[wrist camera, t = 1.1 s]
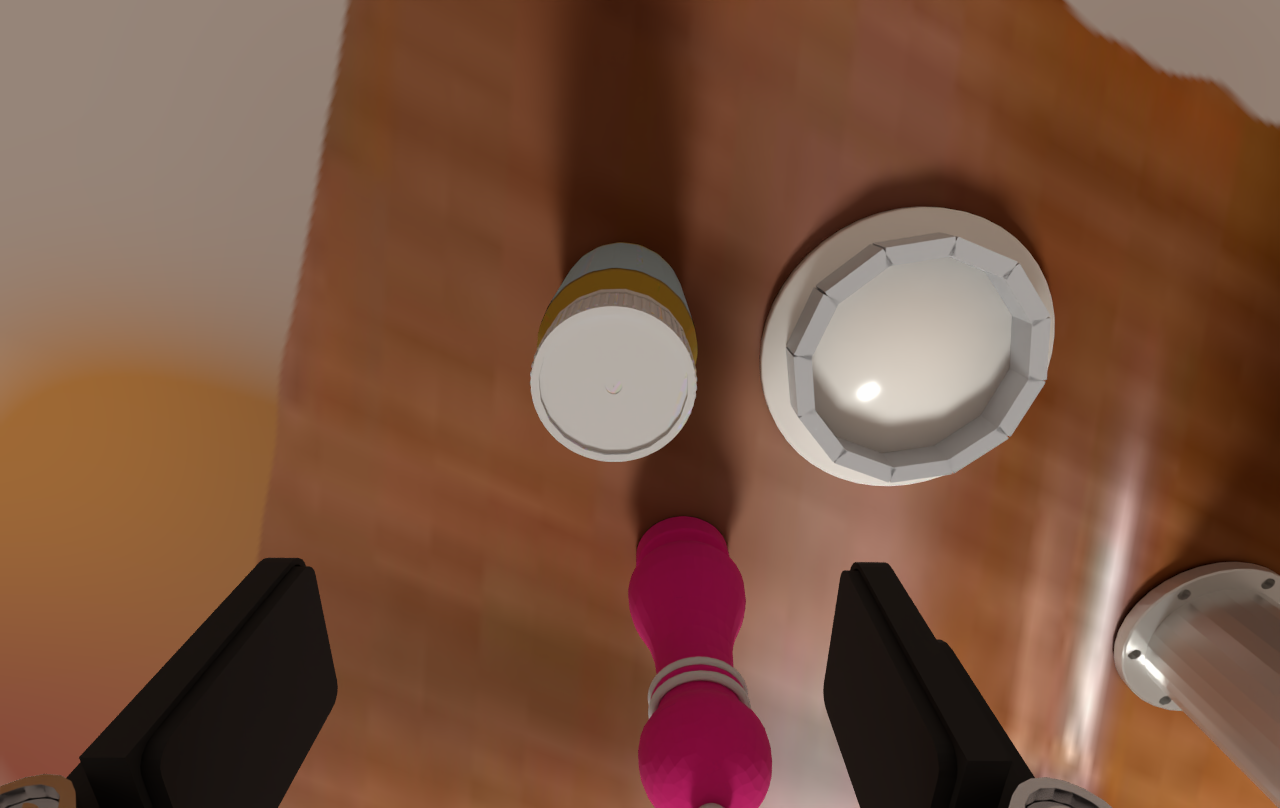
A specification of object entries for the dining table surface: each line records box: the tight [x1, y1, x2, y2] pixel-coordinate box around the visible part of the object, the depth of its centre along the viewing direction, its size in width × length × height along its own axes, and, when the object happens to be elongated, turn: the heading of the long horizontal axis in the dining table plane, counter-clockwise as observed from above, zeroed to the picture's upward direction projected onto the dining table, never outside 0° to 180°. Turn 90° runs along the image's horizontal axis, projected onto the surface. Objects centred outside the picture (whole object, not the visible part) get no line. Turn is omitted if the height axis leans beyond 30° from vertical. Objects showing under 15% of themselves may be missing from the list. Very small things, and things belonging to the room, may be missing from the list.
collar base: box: [759, 206, 1054, 486], centre depth 37 cm, size 17×17×3 cm
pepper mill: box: [628, 516, 772, 808], centre depth 34 cm, size 7×7×20 cm
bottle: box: [530, 242, 698, 462], centre depth 30 cm, size 7×7×15 cm
